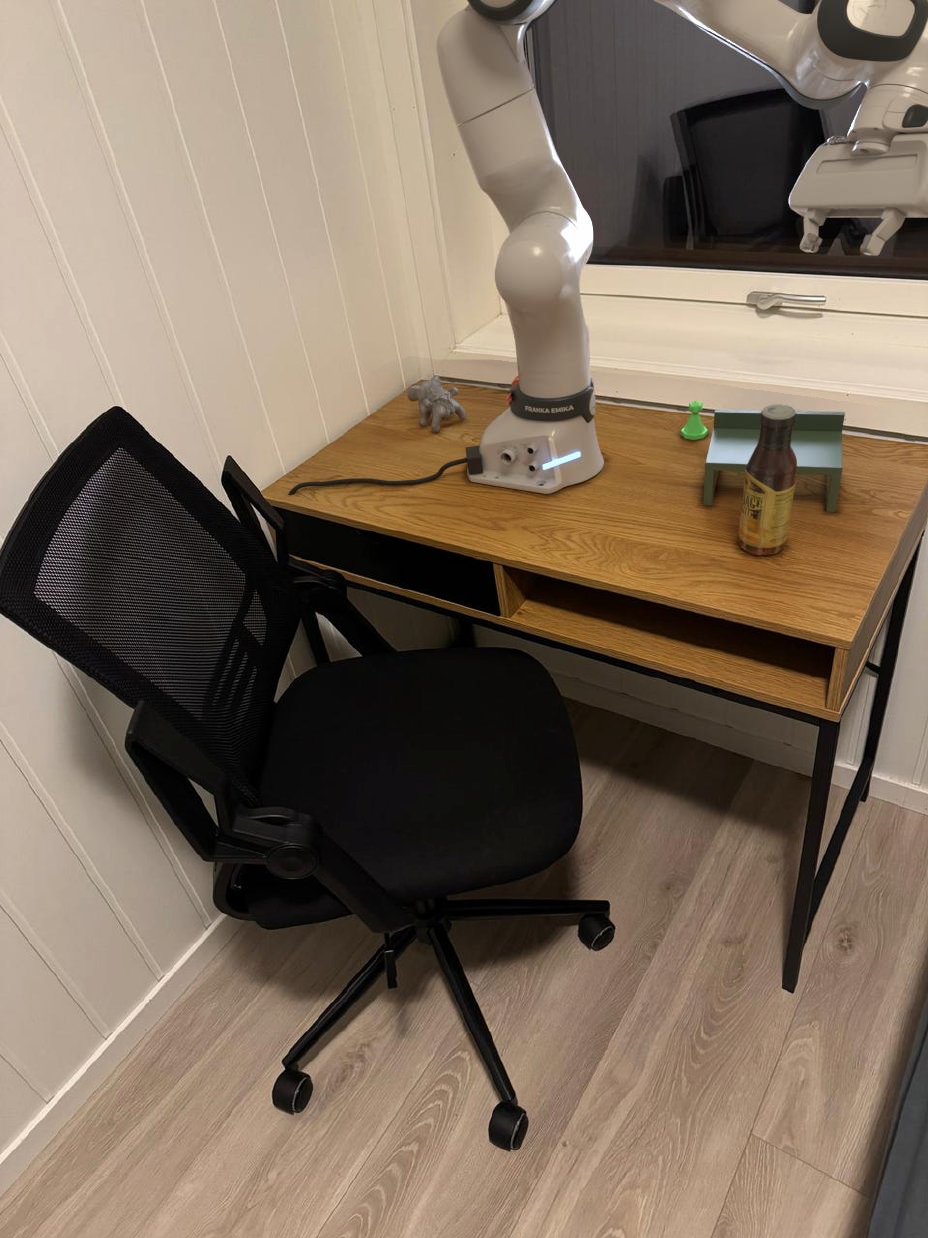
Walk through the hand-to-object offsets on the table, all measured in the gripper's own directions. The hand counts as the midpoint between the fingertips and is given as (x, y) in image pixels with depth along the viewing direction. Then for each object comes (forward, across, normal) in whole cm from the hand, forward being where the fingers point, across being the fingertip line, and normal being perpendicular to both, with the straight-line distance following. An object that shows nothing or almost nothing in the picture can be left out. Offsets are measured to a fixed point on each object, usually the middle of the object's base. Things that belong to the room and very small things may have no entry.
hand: (836, 252), depth 102 cm
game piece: (+24, -32, +19) cm, 44 cm away
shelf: (+28, -11, +18) cm, 35 cm away
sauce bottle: (+36, 0, +10) cm, 37 cm away
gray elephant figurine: (+38, -67, -11) cm, 78 cm away
